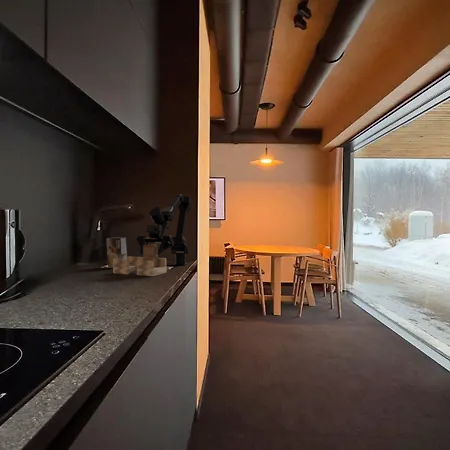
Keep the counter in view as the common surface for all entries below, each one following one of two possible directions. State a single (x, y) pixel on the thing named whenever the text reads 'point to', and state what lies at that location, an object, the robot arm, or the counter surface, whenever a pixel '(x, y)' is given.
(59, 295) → the counter surface
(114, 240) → the coffee box
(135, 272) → the tunnel deck
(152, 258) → the walnut block
